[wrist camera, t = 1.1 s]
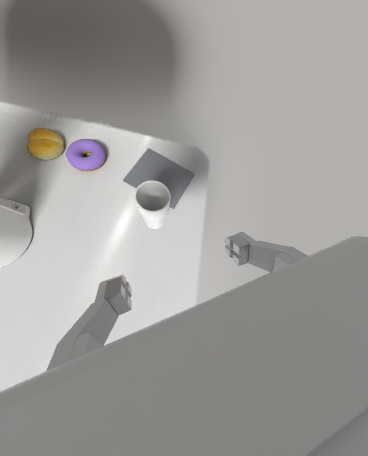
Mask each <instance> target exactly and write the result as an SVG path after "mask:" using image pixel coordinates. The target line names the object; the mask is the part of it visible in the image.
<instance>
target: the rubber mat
mask: <svg viewBox="0 0 368 456" xmlns="http://www.w3.org/2000/svg"><path fill="white" fill-rule="evenodd" d="M193 176H194V174H193V173H191V172H189V171H188V170H186V169H184V168H182V167H181V166H179V165H177V164H175V163H173V162H172V161H170V160H168V159H166V158H164V157H163V156H161V155H159V154H157V153H156V152H154V151H152V150H150V149H147V151H146V152H145V153H144V154H143V156H142V157H141V158H140V159H139V161H138V162H137V163H136V164H135V166H134V167H133V168H132V170H131V171H130V172H129V173H128V175H127V176H126V177H125V178H124V180H123V181H124V182H126V183H128V184H129V185H131V186H133V187H135V188H137V187H138V186H139V185H140V184H142V183H143V182H146V181H151V180H152V181H158V182H161V183H163V184H164V185H165V186H166V187H167V188H168V190H169V192H170V196H171V199H170V207H171V208H173V209H174V208H175V206H176V204H177V203H178V201H179V199H180V198H181V196H182V194H183V193H184V191H185V189H186V187H187V186H188V184H189V182H190V181H191V179H192V177H193Z"/></svg>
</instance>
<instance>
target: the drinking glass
mask: <svg viewBox="0 0 368 456" xmlns="http://www.w3.org/2000/svg"><path fill="white" fill-rule="evenodd" d="M170 199H171V196H170V192H169V190H168V188H167V187H166V186H165V185H164V184H163V183H161V182H158V181H152V180H151V181H146V182H143V183H142V184H140V185H139V186H138V187H137V189H136V191H135V202H136V205H137V208H138V211H139V212H140V214H141V216H142V217H143V219H144V220H145V223H146V225H147V226H148V227H150V228H152V229H158V228H160V227H161V226H162V225H163V223H164V220H165V218H166V215H167V213H168V210H169V207H170Z"/></svg>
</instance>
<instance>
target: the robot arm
mask: <svg viewBox="0 0 368 456" xmlns="http://www.w3.org/2000/svg"><path fill="white" fill-rule="evenodd" d="M29 216H30V207H29V206H27V205H24V204H21V203H18V202H14V201H11V200H8V199H5V198H1V197H0V268H1V267H3V266H6V265H8V264H10V263H11V262H13V261H15V260H16V259H17V258H18V257H20V256H21V255H22V254H23V253H24V251H25V250H26V249H27V247H28V246H29V244H30V241H31V238H32V226H31V223H30V220H29ZM225 243H226V244H227V245H226V247H225V249H226V252H227V254H228V256H229V257H231V258H233V261H234V262H235V263H236V264H237V265H238V266H240V265H243V264H246V263H249V264H252V265H254V266H257V267H259V268H262V269H264V270H266V271H269V272H271V273H269V274H267V275H264V276H262V277H260V278H258V279H255V280H253V281H251V282H248V283H246V284H244V285H242V286H239V287H237V288H235V289H232V290H230V291H228V292H226V293H224V294H221V295H219V296H217V297H214V298H212V299H210V300H208V301H205V302H203V303H201V304H198V305H196V306H194V307H192V308H189V309H187V310H185V311H182V312H180V313H178V314H176V315H173V316H171V317H169V318H166V319H164V320H162V321H160V322H157V323H155V324H153V325H151V326H148V327H146V328H144V329H141V330H139V331H137V332H135V333H132V334H130V335H128V336H126V337H123V338H121V339H119V340H116V341H114V342H112V343H110V344H107V345H105V346H103V345H104V343H105V341H106V340H107V338H108V336H109V334H110V332H111V330H112V328H113V326H114V324H115V322H116V320H117V318H118V317H119V316H118V315H121V314H123V313H125V312H128V311H130V310H131V303H132V301H131V299H130V297H131V296H132V292H131V287H130V284H129V283H128V282H126V277H125V276H124V275H121V276H118V277H115V278H112V279H109V280H106V281H103V282H101V283H100V284H99V288H98V291H97V295H96V299H95V302H94V303H93V304H91V305H90V307H89V308H88V309H87V310H86V311H85V312H84V314H83V315H82V316H81V317H80V318H79V320H78V321H77V322H76V323H75V324H74V325H73V327H72V328H71V329H70V330H69V331H68V332H67V334H66V335H65V336H64V337H63V338H62V339H61V341H60V342H59V343H58V344H57V346H56V349H55V351H54V354H53V356H52V359H51V361H50V363H49V366H48V368H47V371H46V372H44V373H42V374H39V375H37V376H35V377H32V378H30V379H28V380H26V381H23V382H21V383H19V384H17V385H14V386H12V387H10V388H7V389H5V390H3V391H1V392H0V456H368V237H359V236H356V237H351V238H348V239H346V240H344V241H342V242H339V243H337V244H335V245H332V246H330V247H328V248H326V249H324V250H321V251H319V252H317V253H314V254H312V255H310V256H307V255H305V254H303V253H302V252H300V251H298V250H297V249H295V248H293V247H289V246H283V245H278V244H273V243H268V242H263V241H256V240H254V239H253V238H251V237H250V236H248V235H247V234H245V233H244V232H240V233H238V234H236V235H233V236H230V237H227V238H226V239H225Z"/></svg>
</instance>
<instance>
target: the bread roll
mask: <svg viewBox="0 0 368 456" xmlns="http://www.w3.org/2000/svg"><path fill="white" fill-rule="evenodd" d="M28 138H29V142H28V144H27V150H28V152H29V153H30V154H32V155H33V156H35V157H37V158H39V159H42V160H51V159H54V158H56V157H58V156H60V155H61V154H62V153H63V151H64V141H63V139H62V137H61V136H60V135H59V134H57V133H56V132H54V131H52V130H49V129H44V128H37V129H34V130H33V131H31V132H30V133H29V136H28Z"/></svg>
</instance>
